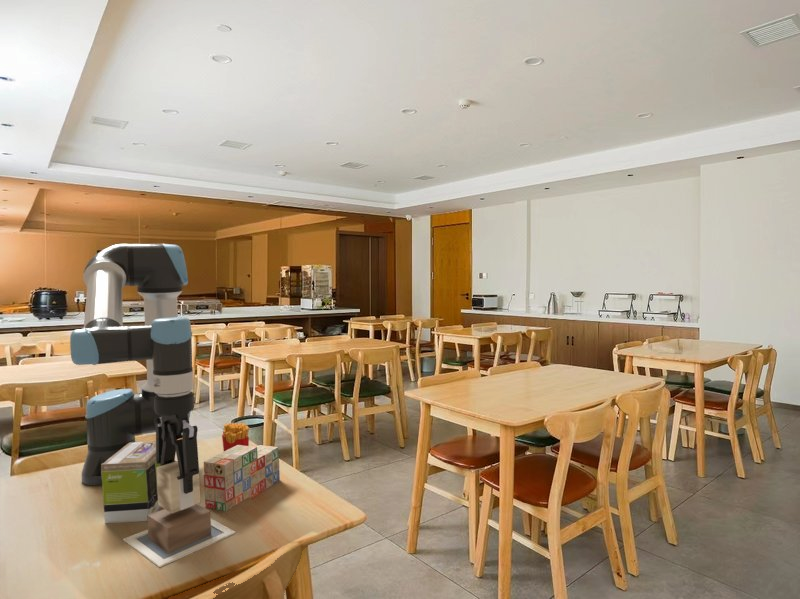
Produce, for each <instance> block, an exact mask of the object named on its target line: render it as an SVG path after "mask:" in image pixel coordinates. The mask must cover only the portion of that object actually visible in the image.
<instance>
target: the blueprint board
mask: <svg viewBox="0 0 800 599" xmlns="http://www.w3.org/2000/svg"><path fill="white" fill-rule="evenodd" d="M234 535H236V531H234V530H233V529H231V528H230V527H227V526H225V525H223V524H222V523H220V522H218V520H215V519H214V518H211V535H210V536H207V537H205V538H203V539H200V540H198V541H196V542H194V543H191V544H189V545H187V546H184V547H182V548H180V549H177V550H175V551H173V552H171V553H168V552H167V551H165V550H164V549H162V548H161V547H160V546H158V545H157V544H155V543H154V542H152V541H151V540H150V539H148V528H147V529H145V530H142V531H140V532H138V533H135V534H132V535H130V536H127V537H124V538H123V541H124V542H125V543H126V544H128V545H129V546H130V547H132V549H134V550H135V551H137V552H138V553H139V554H141V555H142V557H145V558H146V559H147V560H149V561H150V562H151V563H153V564H154V565H155V566H157V567H158V568H159V569H160V568H162V567H165V566H167V565H169V564H171V563H174V562H175V561H177V560H180V559H182V558H185V557H187V556H189V555H191V554H194V553H195V552H197V551H200V550H201V549H202V550H203V549H205V548H207V547H209V546H211V545H213V544H215V543H218V542H220V541H221V540H224V539H226V538H229V537H231V536H234Z"/></svg>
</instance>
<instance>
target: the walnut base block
mask: <svg viewBox="0 0 800 599" xmlns="http://www.w3.org/2000/svg"><path fill="white" fill-rule="evenodd" d="M211 519H212V517H211V510H208V509H207V508H206V507H204V506H201V505H199V504H195V505H193V506H191V507H188V508H186V509H183V510H180V511H177V512H174V513H171V512H169V511H167V510H165V509H164V508H163V509H159V510H158V511H157V512H154V513H152V514H149V515H147V520H148V521H147V529H148V539H150V540H151V541H152V542H154V543H155V544H157V545H158V546H160V547H161V548H162V549H164V550H165V551H167V552H168V553H171V552H173V551H175V550H177V549H180V548H182V547H184V546H187V545H189V544H191V543H194V542H196V541H198V540H200V539H203V538H205V537H207V536H210V535H211Z"/></svg>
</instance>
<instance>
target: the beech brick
mask: <svg viewBox="0 0 800 599" xmlns="http://www.w3.org/2000/svg"><path fill="white" fill-rule="evenodd" d="M175 461H176V462H172V463H169V464H166V465H163V466H159V467H156V471H157V491H158V505H159V506H160V507H161V508H163V509H165V510H167V511H169V512H171V513H174V512H177V511H180V509H179V488H178V479H177V477H178V476H180V471H179V465H178V460H175ZM200 486H201V485H200V473H199V474H196V475H193V496H194V505H195V504H197V505H199V504H200V503H201V491H200V490H201V489H200Z"/></svg>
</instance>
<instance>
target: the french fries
mask: <svg viewBox="0 0 800 599" xmlns="http://www.w3.org/2000/svg"><path fill="white" fill-rule="evenodd" d="M222 429H223V430H222V435H221V440H222V449H223V452H224V451H226V450H228V449H230V448H232V447H234V446H236V445H243V446H250V445H249V442H250V439H249V430H250V427H249V426H248V425H246V423H243V422H239V423H235V422H232V423H231V422H229V423H225V424H224V425H223V428H222Z"/></svg>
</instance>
